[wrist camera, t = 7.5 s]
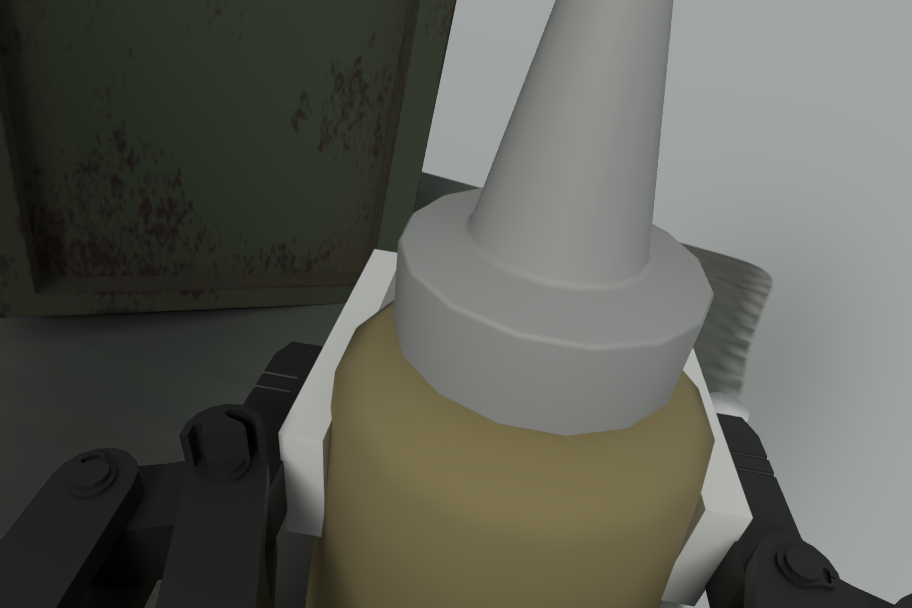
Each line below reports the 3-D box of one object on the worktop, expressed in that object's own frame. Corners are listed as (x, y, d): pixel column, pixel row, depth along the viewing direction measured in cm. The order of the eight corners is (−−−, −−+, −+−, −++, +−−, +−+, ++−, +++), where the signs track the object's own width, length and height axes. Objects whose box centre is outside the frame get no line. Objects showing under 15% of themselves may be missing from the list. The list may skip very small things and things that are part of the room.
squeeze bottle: (443, 510, 21) (536, -60, 11) (639, 678, 17) (1064, 22, 7) (247, 683, 16) (84, -107, 6) (464, 986, 12) (1176, 119, 2)
